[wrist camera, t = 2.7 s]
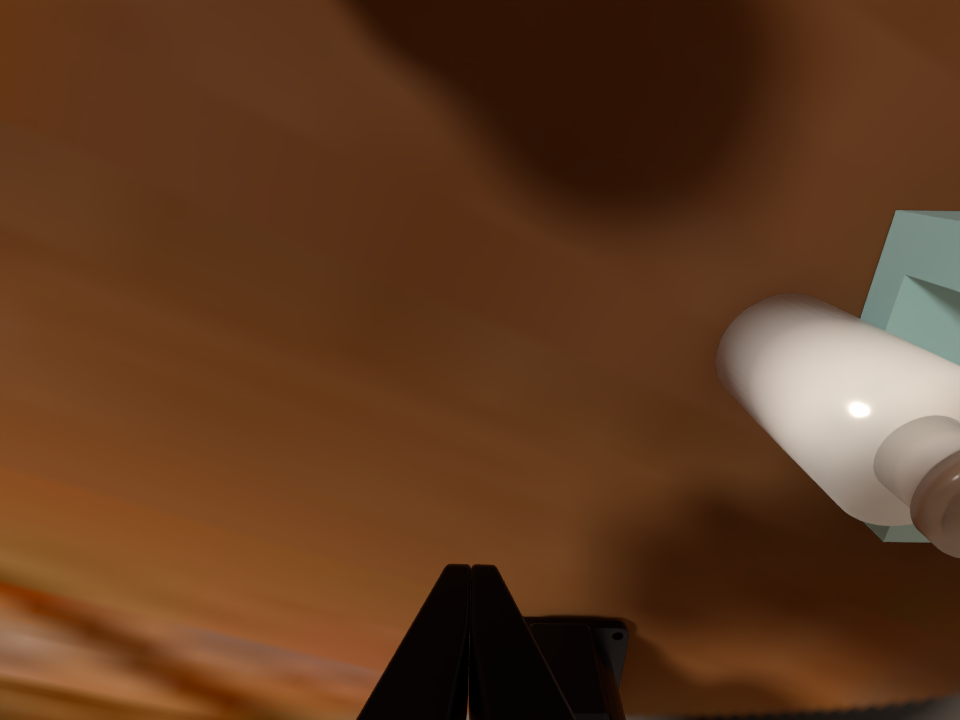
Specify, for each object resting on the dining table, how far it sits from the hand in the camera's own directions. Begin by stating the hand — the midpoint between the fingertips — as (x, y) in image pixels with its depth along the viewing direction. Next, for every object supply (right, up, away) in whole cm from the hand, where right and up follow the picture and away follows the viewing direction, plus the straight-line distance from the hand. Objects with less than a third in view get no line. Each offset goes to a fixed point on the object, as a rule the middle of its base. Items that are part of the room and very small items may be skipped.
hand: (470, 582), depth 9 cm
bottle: (+11, +4, +10) cm, 15 cm away
